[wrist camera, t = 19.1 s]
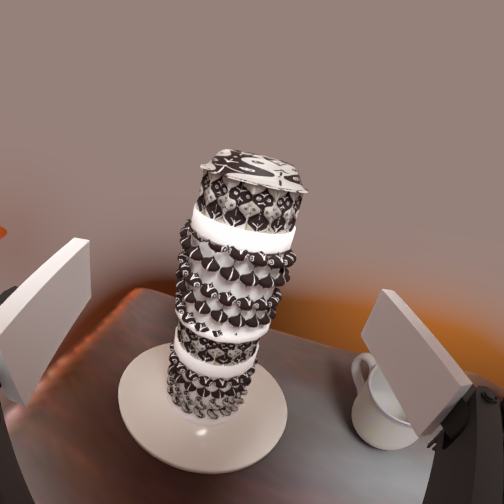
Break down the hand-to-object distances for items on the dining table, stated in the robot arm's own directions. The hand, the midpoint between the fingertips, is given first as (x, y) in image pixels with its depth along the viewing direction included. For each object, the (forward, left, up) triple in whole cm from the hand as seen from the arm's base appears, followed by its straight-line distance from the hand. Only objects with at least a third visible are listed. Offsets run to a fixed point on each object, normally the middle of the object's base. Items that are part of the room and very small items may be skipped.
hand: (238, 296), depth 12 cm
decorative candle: (+10, -4, -20) cm, 23 cm away
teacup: (+2, -24, -21) cm, 32 cm away
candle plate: (+10, -4, -21) cm, 24 cm away
